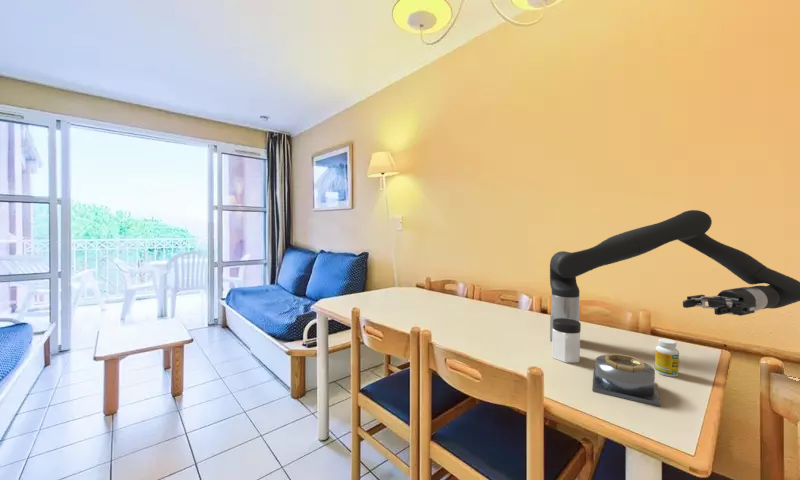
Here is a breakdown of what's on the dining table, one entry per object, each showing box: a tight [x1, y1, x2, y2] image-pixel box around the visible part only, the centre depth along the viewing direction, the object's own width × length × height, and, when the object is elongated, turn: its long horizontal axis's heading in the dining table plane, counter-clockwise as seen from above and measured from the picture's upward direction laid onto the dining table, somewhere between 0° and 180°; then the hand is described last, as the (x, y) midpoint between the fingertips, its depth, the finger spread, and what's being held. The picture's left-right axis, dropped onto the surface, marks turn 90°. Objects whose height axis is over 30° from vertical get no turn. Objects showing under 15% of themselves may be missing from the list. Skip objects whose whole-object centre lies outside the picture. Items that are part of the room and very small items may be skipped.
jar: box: [551, 318, 582, 364], centre depth 106 cm, size 9×8×12 cm
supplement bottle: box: [654, 338, 680, 378], centre depth 95 cm, size 5×5×10 cm
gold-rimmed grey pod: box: [591, 353, 661, 407], centre depth 87 cm, size 14×14×7 cm
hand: (699, 307), depth 96 cm, fingers open, 8 cm apart
